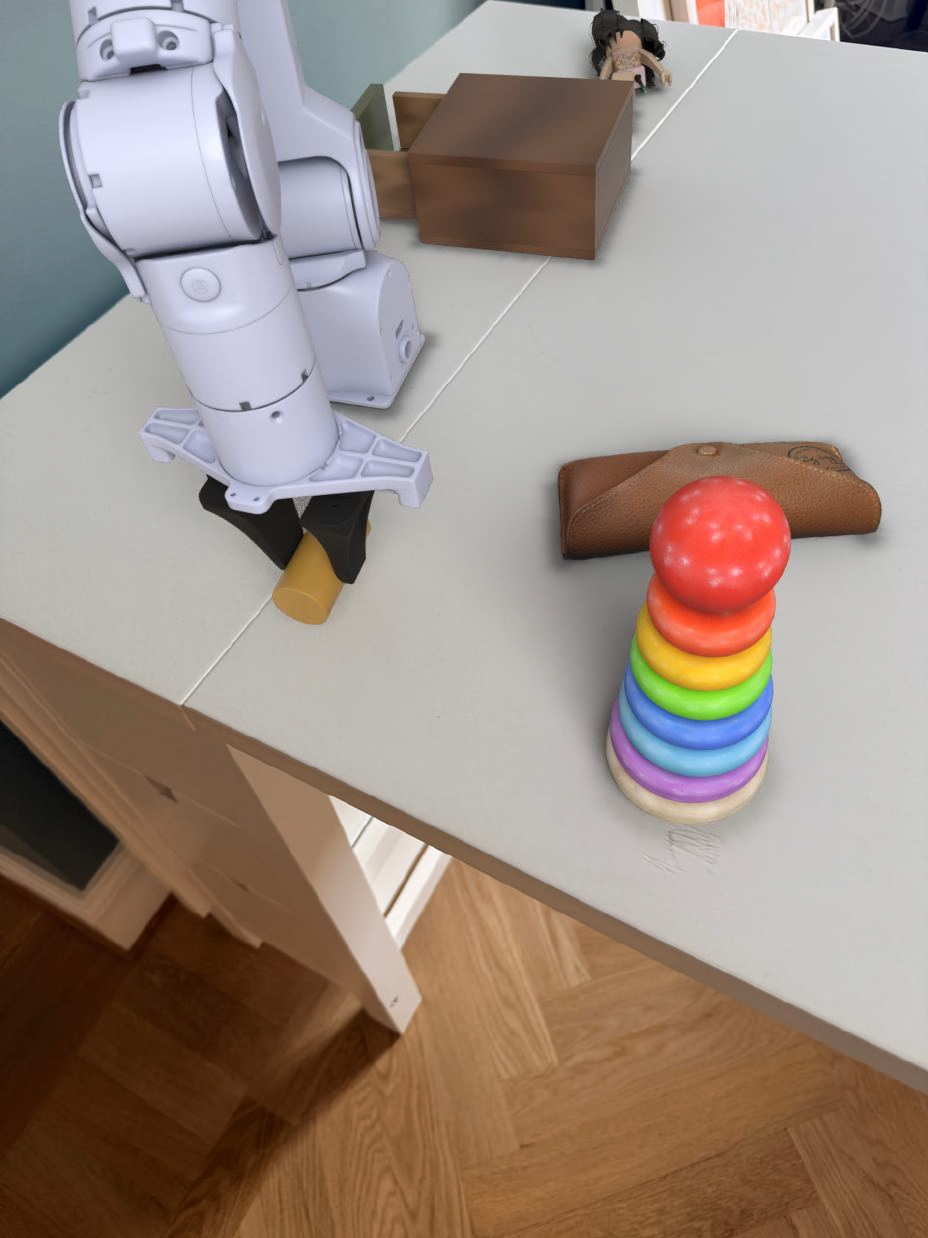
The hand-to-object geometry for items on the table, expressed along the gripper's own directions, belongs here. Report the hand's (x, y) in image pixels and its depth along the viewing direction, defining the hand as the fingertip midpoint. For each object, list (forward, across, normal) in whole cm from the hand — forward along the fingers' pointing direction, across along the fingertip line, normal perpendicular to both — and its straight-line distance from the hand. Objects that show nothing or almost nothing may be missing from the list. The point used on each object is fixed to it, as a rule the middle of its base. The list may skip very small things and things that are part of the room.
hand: (322, 563), depth 51 cm
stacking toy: (+5, +21, -4) cm, 22 cm away
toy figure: (+5, +3, +63) cm, 63 cm away
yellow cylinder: (+2, 0, 0) cm, 2 cm away
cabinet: (+5, -1, +43) cm, 43 cm away
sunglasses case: (+5, +19, +13) cm, 24 cm away
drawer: (+4, -12, +43) cm, 45 cm away
